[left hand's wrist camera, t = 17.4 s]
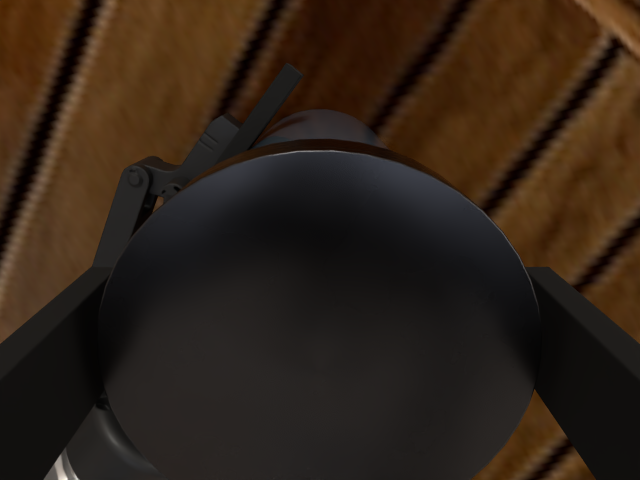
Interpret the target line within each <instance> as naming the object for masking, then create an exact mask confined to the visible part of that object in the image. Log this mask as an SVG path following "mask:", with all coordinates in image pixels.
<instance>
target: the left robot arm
mask: <svg viewBox="0 0 640 480" xmlns="http://www.w3.org/2000/svg"><path fill="white" fill-rule="evenodd" d="M525 268H526V271H527V273H528V275H529V277H530V279H531V282H532V285H533V288H534V292H535V295H536V298H537V302H538V305H539V313H540V320H541V328H542V349H541V361H540V367H539V372H538V378H537V382H536V385H535V388H534V389H535V390H536V392H537V393H538V394H539V396H540V397H541V399H542V400H543V402H544V403H545V405H546V406H547V408H548V409H549V411H550V412H551V414H552V415H553V417H554V418H555V419H556V421H557V422H558V424H559V425H560V427H561V428H562V430H563V431H564V433H565V434H566V436H567V437H568V439H569V440H570V442H571V443H572V444H573V446H574V447H575V449H576V450H577V452H578V453H579V455H580V456H581V458H582V459H583V461H584V462H585V464H586V465H587V467H588V468H589V469H590V471H591V472H592V474H593V475H594V477H595V478H596V480H640V344H639V343H638V342H637V341H635V340H634V339H633V338H632V337H631V336H630V335H628V334H627V333H626V332H625V331H624V330H622V329H621V328H620V327H619V326H618V325H617V324H615V323H614V322H613V321H612V320H611V319H610V318H608V317H607V316H606V315H605V314H604V313H602V312H601V311H600V310H599V309H598V308H597V307H595V306H594V305H593V304H592V303H591V302H589V301H588V300H587V299H586V298H585V297H584V296H582V295H581V294H580V293H579V292H578V291H576V290H575V289H574V288H573V287H572V286H571V285H569V284H568V283H567V282H566V281H565V280H563V279H562V278H561V277H560V276H559V275H558V274H556V273H555V272H554V271H553V270H552V269H551V268H549V267H525ZM112 269H113V267H91V268H89V269H88V270H87V271H86V272H85V273H84V274H82V275H81V276H80V277H79V278H78V279H77V280H75V281H74V282H73V283H72V284H71V285H69V286H68V287H67V288H66V289H65V290H64V291H62V292H61V293H60V294H59V295H58V296H56V297H55V298H54V299H53V300H52V301H51V302H49V303H48V304H47V305H46V306H45V307H43V308H42V309H41V310H40V311H39V312H38V313H36V314H35V315H34V316H33V317H32V318H30V319H29V320H28V321H27V322H26V323H25V324H23V325H22V326H21V327H20V328H19V329H18V330H16V331H15V332H14V333H13V334H12V335H10V336H9V337H8V338H7V339H6V340H5V341H3V342H2V343H1V344H0V480H44V478H45V477H46V475H47V474H48V472H49V471H50V469H51V468H52V467H53V465H54V464H55V462H56V461H57V459H58V458H59V456H60V455H61V453H62V452H63V450H64V449H65V447H66V446H67V444H68V443H69V442H70V440H71V439H72V437H73V436H74V434H75V433H76V431H77V430H78V428H79V427H80V425H81V424H82V422H83V421H84V419H85V418H86V417H87V415H88V414H89V412H90V411H91V409H92V408H93V406H94V405H95V403H96V402H97V400H98V399H99V397H100V396H101V394H102V393H103V392H104V387H103V383H102V379H101V374H100V369H99V365H98V356H97V338H96V336H97V325H98V315H99V308H100V305H101V301H102V297H103V293H104V289H105V286H106V283H107V281H108V278H109V276H110V274H111V272H112Z"/></svg>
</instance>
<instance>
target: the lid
mask: <svg viewBox="0 0 640 480" xmlns="http://www.w3.org/2000/svg"><path fill="white" fill-rule="evenodd" d="M96 338H97V356H98V365H99V369H100V374H101V379H102V383H103V387H104V390H105V393H106V395H107V398H108V401H109V403H110V406H111V409H112V410H113V412H114V414H115V416H116V418H117V420H118V422H119V423H120V425H121V427H122V429H123V431H124V432H125V433H126V435H127V436H128V437H129V439H130V440H131V442H132V443H133V444H134V446H135V447H136V448H137V450H138V451H139V452H140V453H141V454H142V455H143V456H144V457H145V458H146V459H147V460H148V461H149V463H150V464H151V465H152V466H153V467H154V468H155V469H157V470H158V471H159V472H160V473H161V474H163V475H164V476H165V477H166V478H167V479H169V480H470V479H472V478H473V477H474V476H475V475H476V474H477V473H478V472H480V471H481V470H482V469H483V468H484V467H485V466H486V465H487V464H489V462H490V461H491V460H492V459H493V458H494V457H495V456H496V455H497V453H498V452H499V451H500V450H501V449H502V448H503V447H504V446H505V444H506V443H507V441H508V440H509V438H510V437H511V435H512V434H513V433H514V431H515V430H516V428H517V427H518V425H519V423H520V421H521V419H522V417H523V415H524V413H525V411H526V409H527V407H528V405H529V403H530V400H531V397H532V394H533V391H534V388H535V385H536V382H537V378H538V372H539V367H540V361H541V349H542V328H541V320H540V313H539V305H538V302H537V298H536V295H535V292H534V288H533V285H532V282H531V279H530V277H529V275H528V273H527V271H526V268H525V266H524V264H523V262H522V260H521V258H520V256H519V254H518V253H517V251H516V250H515V248H514V247H513V245H512V244H511V243H510V241H509V240H508V238H507V237H506V235H505V234H504V232H503V231H502V230H501V229H500V228H499V227H498V226H497V225H496V224H495V223H494V222H493V220H492V219H491V218H490V217H489V216H488V215H487V214H486V213H485V212H484V211H483V210H482V209H481V208H480V207H479V206H477V205H476V204H475V203H474V202H473V201H471V200H470V199H469V198H468V197H467V196H465V195H464V194H463V193H462V192H461V191H459V190H458V189H457V188H456V187H454V186H453V185H452V184H451V183H449V182H448V181H447V180H446V179H444V178H443V177H442V176H440V175H439V174H438V173H436V172H434V171H432V170H431V169H429V168H427V167H426V166H424V165H422V164H420V163H419V162H417V161H415V160H413V159H410V158H408V157H406V156H403V155H401V154H398V153H396V152H393V151H391V150H389V149H385V148H381V147H377V146H373V145H369V144H365V143H362V142H355V141H346V140H338V139H299V140H292V141H285V142H278V143H272V144H269V145H265V146H262V147H258V148H255V149H251V150H248V151H244V152H242V153H240V154H238V155H235V156H233V157H231V158H229V159H226V160H224V161H222V162H220V163H218V164H216V165H214V166H213V167H211V168H210V169H208V170H206V171H205V172H203V173H202V174H200V175H198V176H197V177H195V178H194V179H193V180H191V181H190V182H189V183H188V184H187V185H185V186H184V187H183V188H182V189H181V190H180V191H178V192H177V193H176V194H175V195H174V196H172V197H171V198H170V199H169V200H168V201H166V202H165V203H164V204H163V205H162V206H160V207H159V208H158V209H157V210H156V211H154V212H153V213H152V214H151V215H150V216H149V217H148V219H147V220H146V221H145V222H144V223H143V224H142V225H141V226H140V228H139V229H138V230H137V231H136V232H135V233H134V234H133V236H132V237H131V238H130V240H129V242H128V243H127V245H126V246H125V248H124V249H123V251H122V252H121V254H120V256H119V257H118V259H117V260H116V263H115V265H114V267H113V269H112V272H111V274H110V276H109V278H108V281H107V283H106V286H105V289H104V293H103V297H102V301H101V305H100V308H99V315H98V325H97V336H96Z"/></svg>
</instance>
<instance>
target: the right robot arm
mask: <svg viewBox="0 0 640 480" xmlns="http://www.w3.org/2000/svg"><path fill="white" fill-rule="evenodd" d="M303 76H304V75H303V74H301V73H300V72H299V71H298V70H297V69H295V68H294V67H293V66H292V65H291V64H287V63H286V64H285V66H284V67H283V69H282V70H281V71H280V73H279V74H278V76H277V77H276V78H275V80H274V81H273V83H272V84H271V85H270V87H269V88H268V90H267V91H266V93H265V94H264V95H263V97H262V98H261V100H260V101H259V102H258V104H257V105H256V107H255V108H254V109H253V111H252V112H251V114H250V115H249V116H248V118H247V119H246V121H245V122H244V123H243V124H242V123H241V122H239V121H238V120H237V119H235V118H234V117H233V116H232V115H230V114H229V113H226V114H224V115H222V116H220V117H219V118H217V119H215V120H214V121H212V122H211V123H210V125H209V126H208V128H207V129H206V130H205V132H204V134H203V135H202V136H201V138H200V139H199V141H198V142H197V144H196V145H195V146H194V148H193V149H192V151H191V152H190V154H189V155H188V157H187V158H186V160H185V161H184V162H183V164H182V165H172V164H169V163H166V162H163V160H162V159H160V158H159V157H155V156H150V157H147V158H145V159H143V160H141V161H139V162H137V163H134V164H132V165H130V166H128V167H127V168H125V169H124V171H123V172H122V175H121V178H120V181H119V184H118V187H117V190H116V193H115V197H114V200H113V203H112V206H111V209H110V212H109V215H108V218H107V221H106V224H105V228H104V231H103V234H102V237H101V240H100V243H99V246H98V249H97V252H96V255H95V259H94V262H93V265H92V267H114V265H115V263H116V260H117V259H118V257H119V256H120V254H121V252H122V251H123V249H124V248H125V246H126V245H127V243H128V242H129V240H130V238H131V237H132V236H133V234H134V233H135V232H136V231H137V230H138V229H139V228H140V226H141V225H142V224H143V223H144V222H145V221H146V220H147V219H148V217H149V216H150V215H151V214H152V212H153V209H154V206H155V203H156V200H157V198H158V196H161V197H164V203H165V202H166V201H168V200H169V199H170V198H171V197H172V196H174V195H175V194H176V193H177V192H178V191H180V190H181V189H182V188H183V187H184V186H185V185H187V184H188V183H189V182H190V181H191V180H193V179H194V178H195V177H197V176H198V175H200V174H202V173H203V172H205V171H206V170H208V169H210V168H211V167H213V166H214V165H216V164H218V163H220V162H222V161H224V160H226V159H229V158H231V157H233V156H235V155H238V154H240V153H242V152H244V151H248V150H250V148H251V147H252V146H253V144H254V143H255V141H256V140H257V139H258V137H259V136H260V135H261V133H262V132H263V130H264V129H265V128H266V126H267V125H268V124H269V122H270V121H271V119H272V118H273V117H274V115H275V114H276V113H277V111H278V110H279V109H280V107H281V106H282V104H283V103H284V102H285V100H286V99H287V98H288V96H289V95H290V93H291V92H292V91H293V89H294V88H295V87H296V85H297V84H298V82H299V81H300V80H301V78H302V77H303ZM164 203H163V204H164ZM44 480H169V479H167V478H166V477H165V476H164V475H163V474H161V473H160V472H159V471H158V470H157V469H155V468H154V467H153V466H152V465H151V464H150V463H149V461H148V460H147V459H146V458H145V457H144V456H143V455H142V454H141V453H140V452H139V451H138V450H137V448H136V447H135V446H134V444H133V443H132V442H131V440H130V439H129V437H128V436H127V435H126V433H125V432H124V431H123V429H122V427H121V425H120V423H119V422H118V420H117V418H116V416H115V414H114V412H113V410H112V409H111V406H110V403H109V401H108V398H107V395H106V393H105V390H104V392H103V393H102V394H101V396H100V397H99V399H98V400H97V402H96V403H95V405H94V406H93V408H92V409H91V411H90V412H89V414H88V415H87V417H86V418H85V419H84V421H83V422H82V424H81V425H80V427H79V428H78V430H77V431H76V433H75V434H74V436H73V437H72V439H71V440H70V442H69V443H68V444H67V446H66V447H65V449H64V450H63V452H62V453H61V455H60V456H59V458H58V459H57V461H56V462H55V464H54V465H53V467H52V468H51V469H50V471H49V472H48V474H47V475H46V477H45V478H44Z"/></svg>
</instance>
